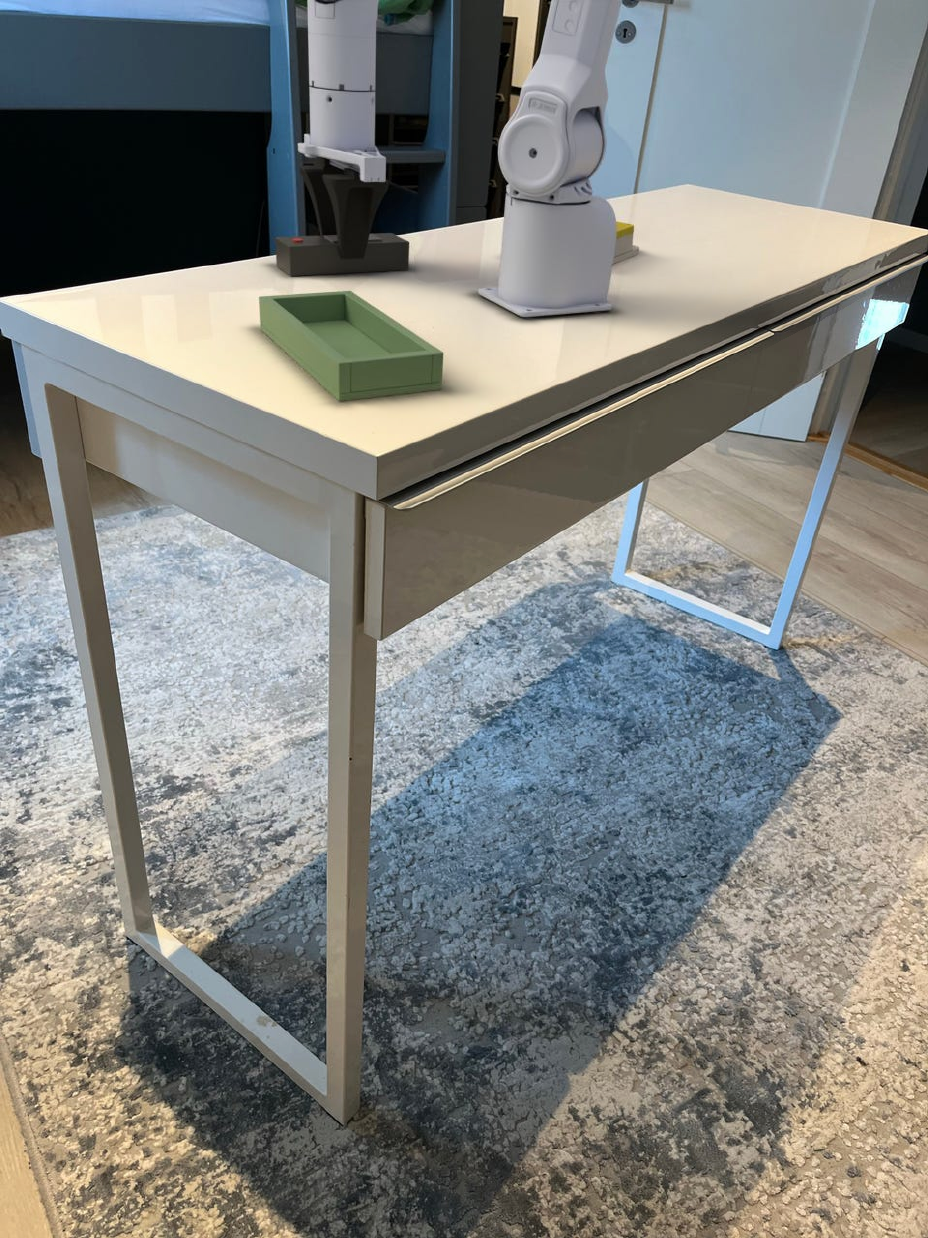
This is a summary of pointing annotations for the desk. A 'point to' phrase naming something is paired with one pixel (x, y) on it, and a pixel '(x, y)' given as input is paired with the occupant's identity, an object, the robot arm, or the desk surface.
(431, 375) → the tray
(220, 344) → the desk surface
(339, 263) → the remote
